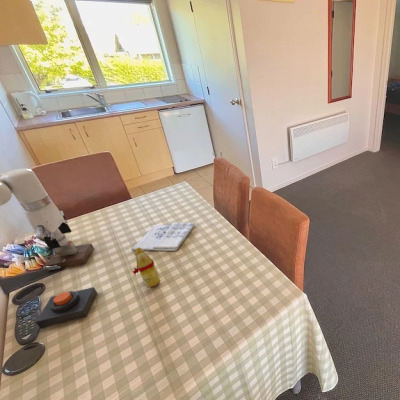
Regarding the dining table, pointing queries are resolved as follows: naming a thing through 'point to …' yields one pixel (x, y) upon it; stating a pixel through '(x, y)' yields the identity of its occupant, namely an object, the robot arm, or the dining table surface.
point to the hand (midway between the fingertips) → (61, 239)
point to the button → (62, 298)
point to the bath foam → (59, 236)
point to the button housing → (67, 308)
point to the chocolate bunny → (146, 268)
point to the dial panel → (72, 257)
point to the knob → (66, 249)
